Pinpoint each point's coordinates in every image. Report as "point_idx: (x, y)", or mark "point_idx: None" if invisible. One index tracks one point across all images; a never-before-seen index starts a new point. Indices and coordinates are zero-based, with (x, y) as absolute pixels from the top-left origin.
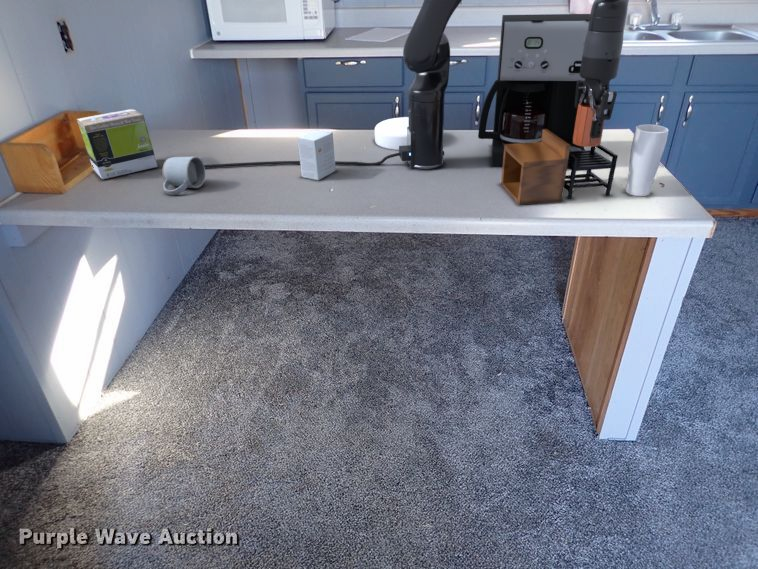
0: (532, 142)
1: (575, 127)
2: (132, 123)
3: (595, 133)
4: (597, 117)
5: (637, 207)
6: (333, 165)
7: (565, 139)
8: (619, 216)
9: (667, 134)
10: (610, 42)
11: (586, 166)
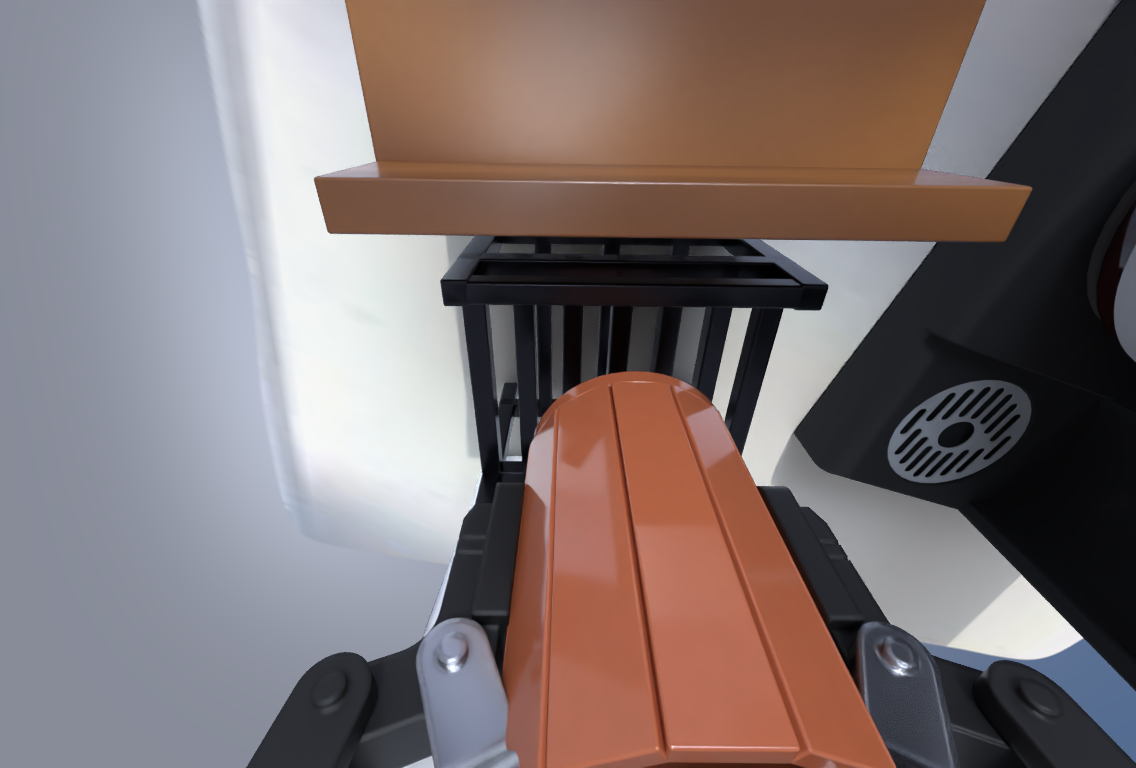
0: (961, 54)
1: (679, 457)
2: None
3: (463, 527)
4: (342, 685)
5: (391, 429)
6: None
7: (1070, 475)
8: (302, 338)
9: (431, 760)
10: None
11: (472, 346)
